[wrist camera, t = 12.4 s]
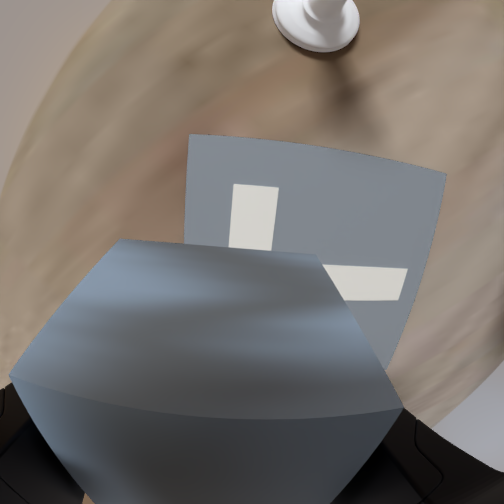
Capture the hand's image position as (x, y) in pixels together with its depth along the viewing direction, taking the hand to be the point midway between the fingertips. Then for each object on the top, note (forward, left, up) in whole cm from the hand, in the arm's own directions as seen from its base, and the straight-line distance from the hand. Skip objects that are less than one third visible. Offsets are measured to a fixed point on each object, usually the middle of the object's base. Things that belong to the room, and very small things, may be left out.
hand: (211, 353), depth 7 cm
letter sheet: (-6, +3, -10) cm, 12 cm away
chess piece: (-4, -13, -11) cm, 17 cm away
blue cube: (0, 0, -1) cm, 1 cm away
